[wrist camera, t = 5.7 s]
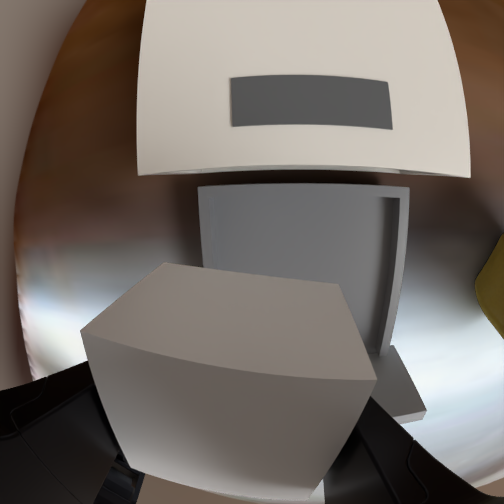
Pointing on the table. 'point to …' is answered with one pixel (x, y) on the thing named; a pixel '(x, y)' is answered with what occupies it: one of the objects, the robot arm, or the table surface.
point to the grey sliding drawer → (323, 257)
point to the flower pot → (493, 287)
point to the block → (230, 379)
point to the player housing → (299, 88)
